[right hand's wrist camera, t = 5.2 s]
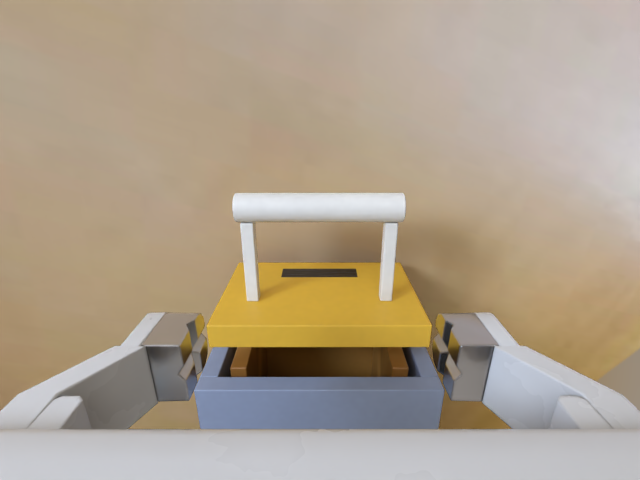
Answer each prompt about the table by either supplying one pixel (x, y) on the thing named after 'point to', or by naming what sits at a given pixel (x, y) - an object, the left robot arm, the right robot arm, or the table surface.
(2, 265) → the table surface
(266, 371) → the drawer
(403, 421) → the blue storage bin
